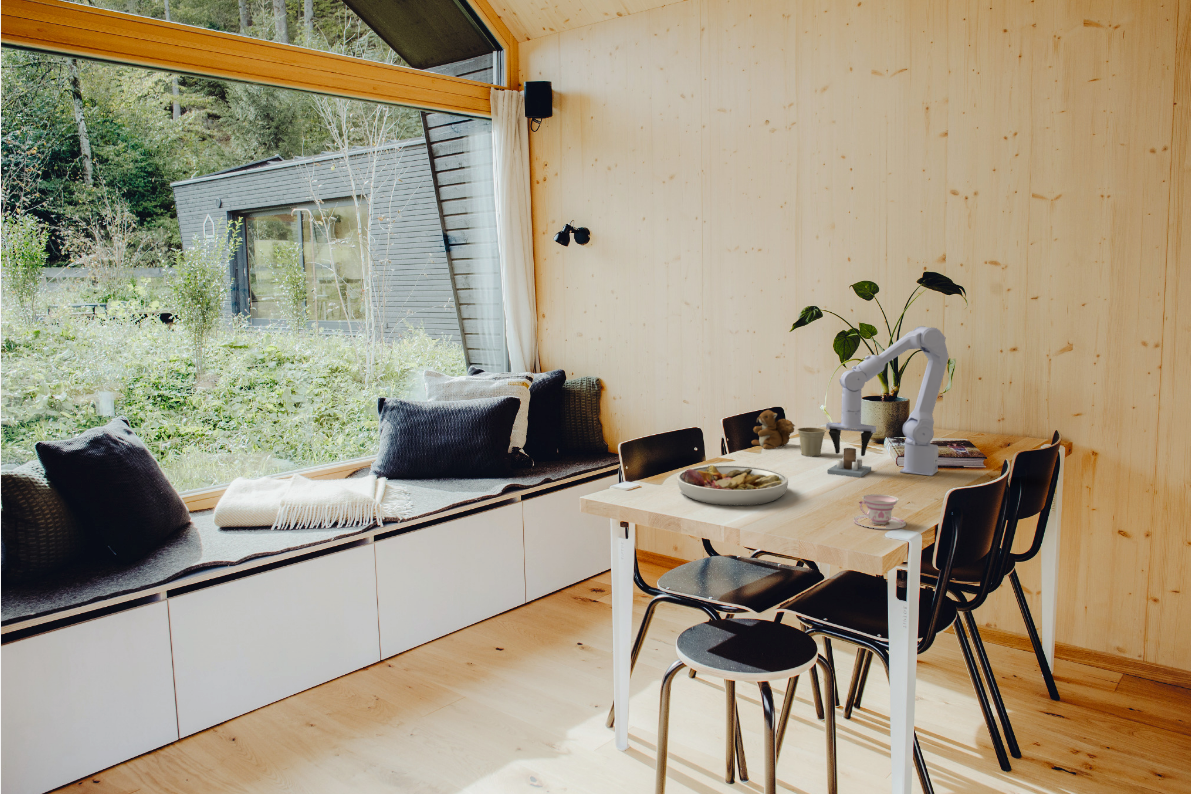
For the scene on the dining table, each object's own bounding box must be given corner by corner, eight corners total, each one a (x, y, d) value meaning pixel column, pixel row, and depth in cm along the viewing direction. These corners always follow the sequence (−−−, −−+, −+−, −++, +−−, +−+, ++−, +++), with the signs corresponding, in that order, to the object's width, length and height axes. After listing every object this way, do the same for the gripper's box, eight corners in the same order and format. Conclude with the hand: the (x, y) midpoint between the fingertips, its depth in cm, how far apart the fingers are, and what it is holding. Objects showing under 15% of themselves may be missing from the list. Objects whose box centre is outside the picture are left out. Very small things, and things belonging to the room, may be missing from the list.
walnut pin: (858, 468, 251) (858, 449, 250) (849, 470, 249) (849, 450, 248) (849, 466, 254) (850, 447, 253) (840, 467, 252) (841, 448, 251)
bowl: (749, 478, 247) (750, 452, 246) (810, 502, 219) (810, 473, 218) (659, 488, 236) (659, 461, 235) (710, 514, 208) (710, 483, 207)
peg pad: (871, 470, 253) (871, 458, 253) (860, 477, 244) (860, 465, 244) (839, 466, 259) (839, 455, 259) (827, 473, 250) (827, 461, 250)
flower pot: (826, 458, 273) (827, 432, 271) (797, 457, 274) (798, 431, 273) (823, 452, 282) (824, 427, 281) (795, 451, 283) (796, 427, 282)
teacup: (894, 516, 204) (895, 491, 203) (914, 530, 192) (915, 504, 191) (846, 516, 204) (847, 492, 203) (863, 531, 192) (863, 505, 191)
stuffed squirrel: (749, 444, 297) (749, 408, 296) (786, 443, 300) (786, 407, 298) (759, 450, 288) (760, 412, 286) (797, 448, 290) (798, 411, 288)
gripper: (879, 409, 249) (877, 454, 251) (831, 407, 256) (830, 449, 258) (873, 413, 243) (872, 458, 245) (824, 410, 250) (823, 453, 252)
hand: (850, 454), depth 251 cm, fingers open, 7 cm apart
